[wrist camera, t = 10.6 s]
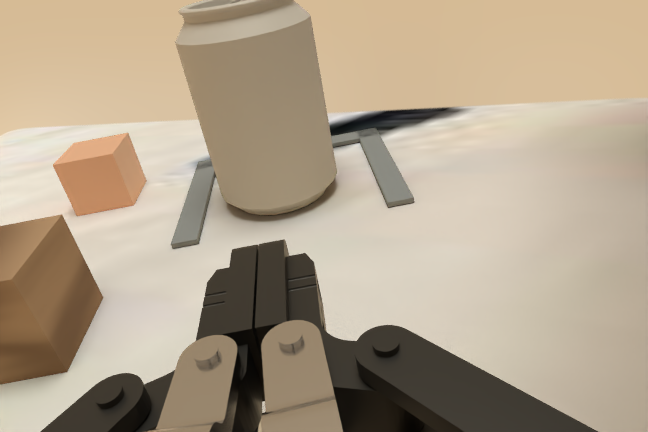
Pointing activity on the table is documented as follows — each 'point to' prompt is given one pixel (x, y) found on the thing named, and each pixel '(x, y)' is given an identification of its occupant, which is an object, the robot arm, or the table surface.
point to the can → (259, 101)
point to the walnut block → (42, 299)
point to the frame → (369, 139)
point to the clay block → (101, 174)
